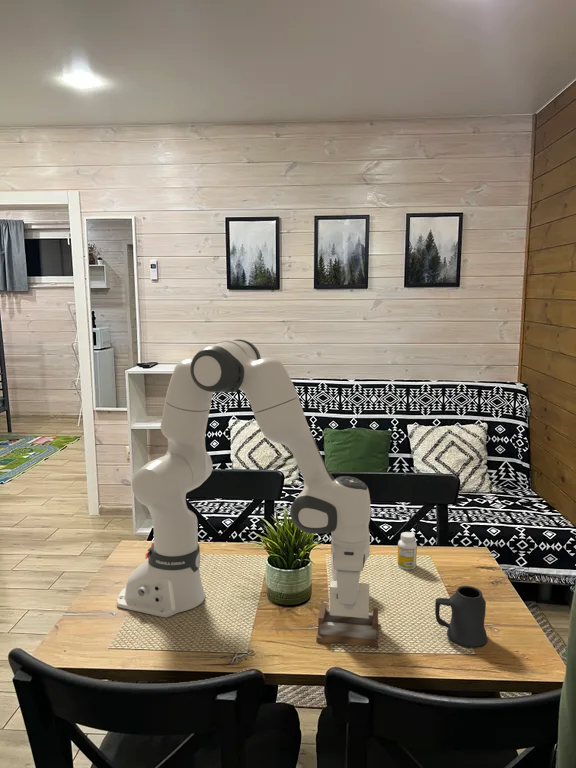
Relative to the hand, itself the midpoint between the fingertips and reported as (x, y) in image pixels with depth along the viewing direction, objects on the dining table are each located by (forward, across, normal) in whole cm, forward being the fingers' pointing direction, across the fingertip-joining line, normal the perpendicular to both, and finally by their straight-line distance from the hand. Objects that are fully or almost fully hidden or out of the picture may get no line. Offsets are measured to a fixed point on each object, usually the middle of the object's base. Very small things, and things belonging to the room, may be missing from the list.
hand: (349, 603), depth 135 cm
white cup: (+8, -20, -2) cm, 22 cm away
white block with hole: (+3, 0, 0) cm, 3 cm away
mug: (+8, -3, +26) cm, 27 cm away
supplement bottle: (+8, -37, +15) cm, 41 cm away
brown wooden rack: (+8, 0, 0) cm, 8 cm away
